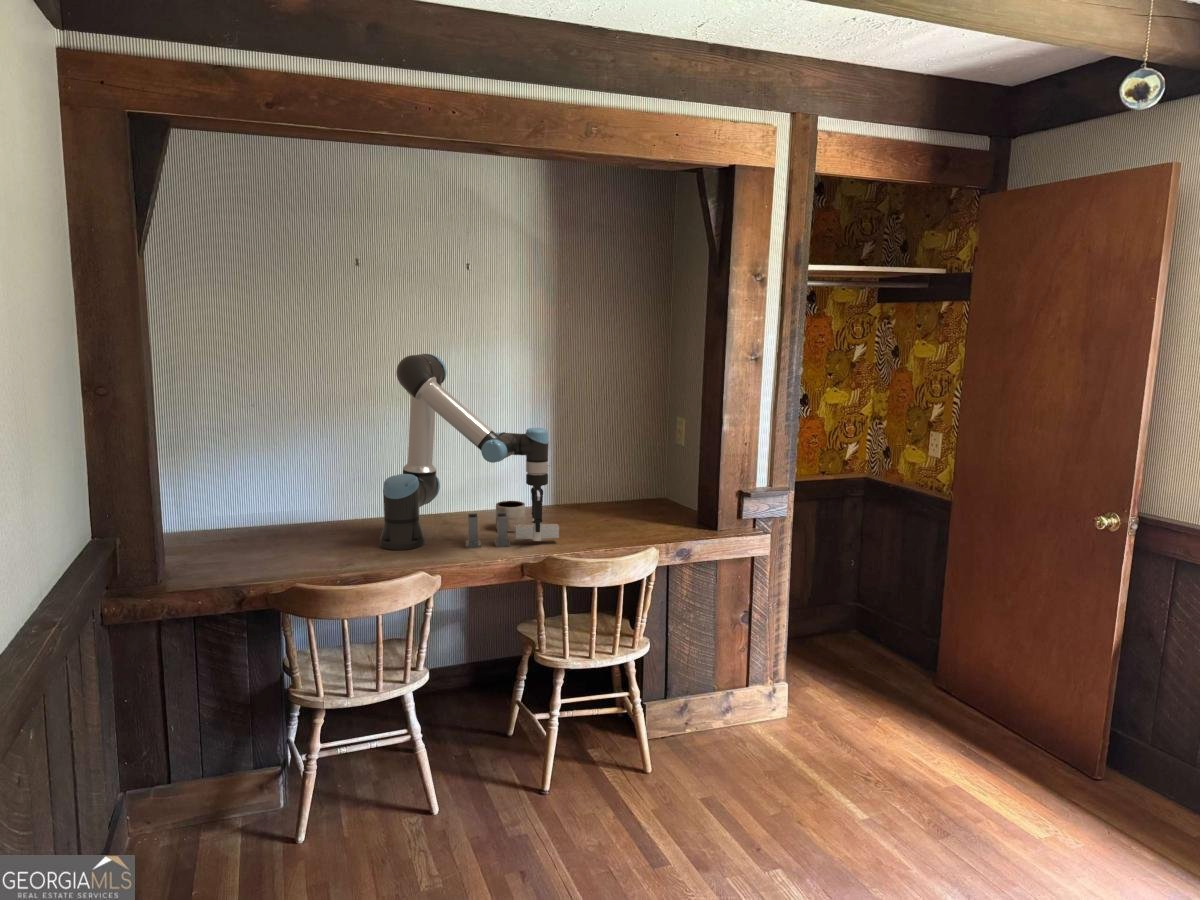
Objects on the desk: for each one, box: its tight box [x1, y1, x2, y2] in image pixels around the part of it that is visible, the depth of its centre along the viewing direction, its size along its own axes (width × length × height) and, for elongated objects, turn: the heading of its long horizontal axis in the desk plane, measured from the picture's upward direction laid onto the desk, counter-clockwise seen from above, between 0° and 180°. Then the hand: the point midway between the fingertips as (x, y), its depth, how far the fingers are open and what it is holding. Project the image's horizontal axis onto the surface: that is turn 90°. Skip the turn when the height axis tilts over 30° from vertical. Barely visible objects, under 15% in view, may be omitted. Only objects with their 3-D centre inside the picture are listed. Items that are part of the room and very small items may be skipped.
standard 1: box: [465, 512, 482, 549], centre depth 273 cm, size 5×7×10 cm
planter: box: [495, 500, 526, 533], centre depth 295 cm, size 11×11×10 cm
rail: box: [514, 523, 560, 540], centre depth 277 cm, size 15×4×4 cm, turn 100°
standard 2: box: [494, 513, 511, 548], centre depth 274 cm, size 5×7×10 cm
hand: (536, 538), depth 277 cm, fingers closed on rail, 4 cm apart
